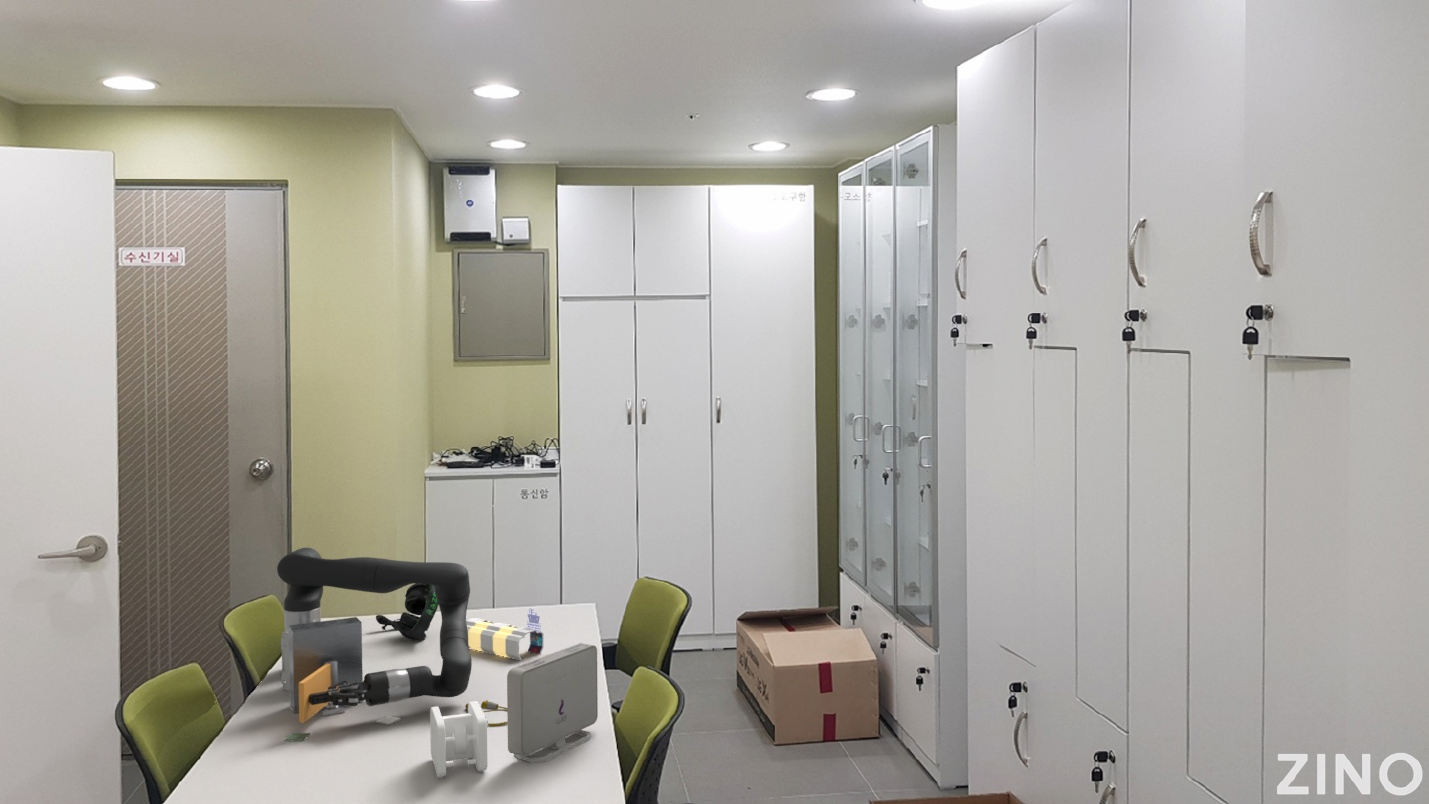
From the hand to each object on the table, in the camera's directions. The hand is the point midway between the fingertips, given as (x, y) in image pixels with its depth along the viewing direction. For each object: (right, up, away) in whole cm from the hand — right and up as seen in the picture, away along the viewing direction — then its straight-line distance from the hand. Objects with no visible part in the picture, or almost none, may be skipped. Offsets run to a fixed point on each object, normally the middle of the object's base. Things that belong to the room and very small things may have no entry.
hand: (310, 699), depth 237 cm
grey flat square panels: (+2, -7, +11) cm, 13 cm away
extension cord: (+39, -8, +11) cm, 42 cm away
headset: (0, -4, +80) cm, 80 cm away
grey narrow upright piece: (-11, -6, +32) cm, 35 cm away
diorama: (+30, -5, +66) cm, 73 cm away
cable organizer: (+39, -9, -19) cm, 44 cm away
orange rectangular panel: (-1, -5, +7) cm, 8 cm away
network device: (+57, -8, -8) cm, 58 cm away
